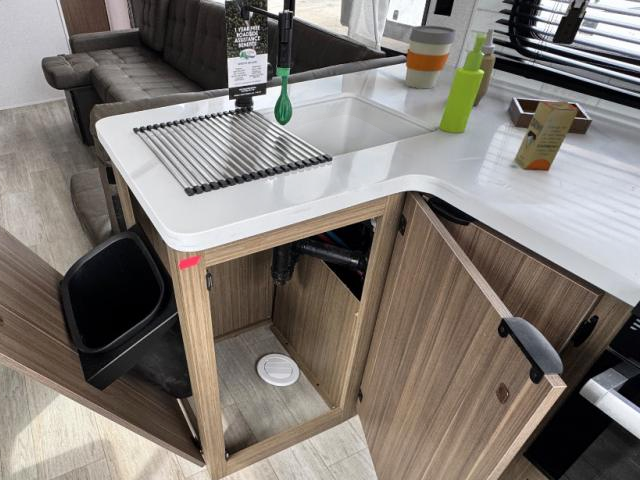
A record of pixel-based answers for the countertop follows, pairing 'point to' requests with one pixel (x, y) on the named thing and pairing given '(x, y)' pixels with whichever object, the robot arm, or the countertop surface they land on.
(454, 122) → the soap dispenser
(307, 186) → the countertop surface
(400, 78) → the countertop surface
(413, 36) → the reusable coffee cup
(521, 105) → the tray
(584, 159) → the countertop surface
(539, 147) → the shoe polish box
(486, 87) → the squeeze bottle
